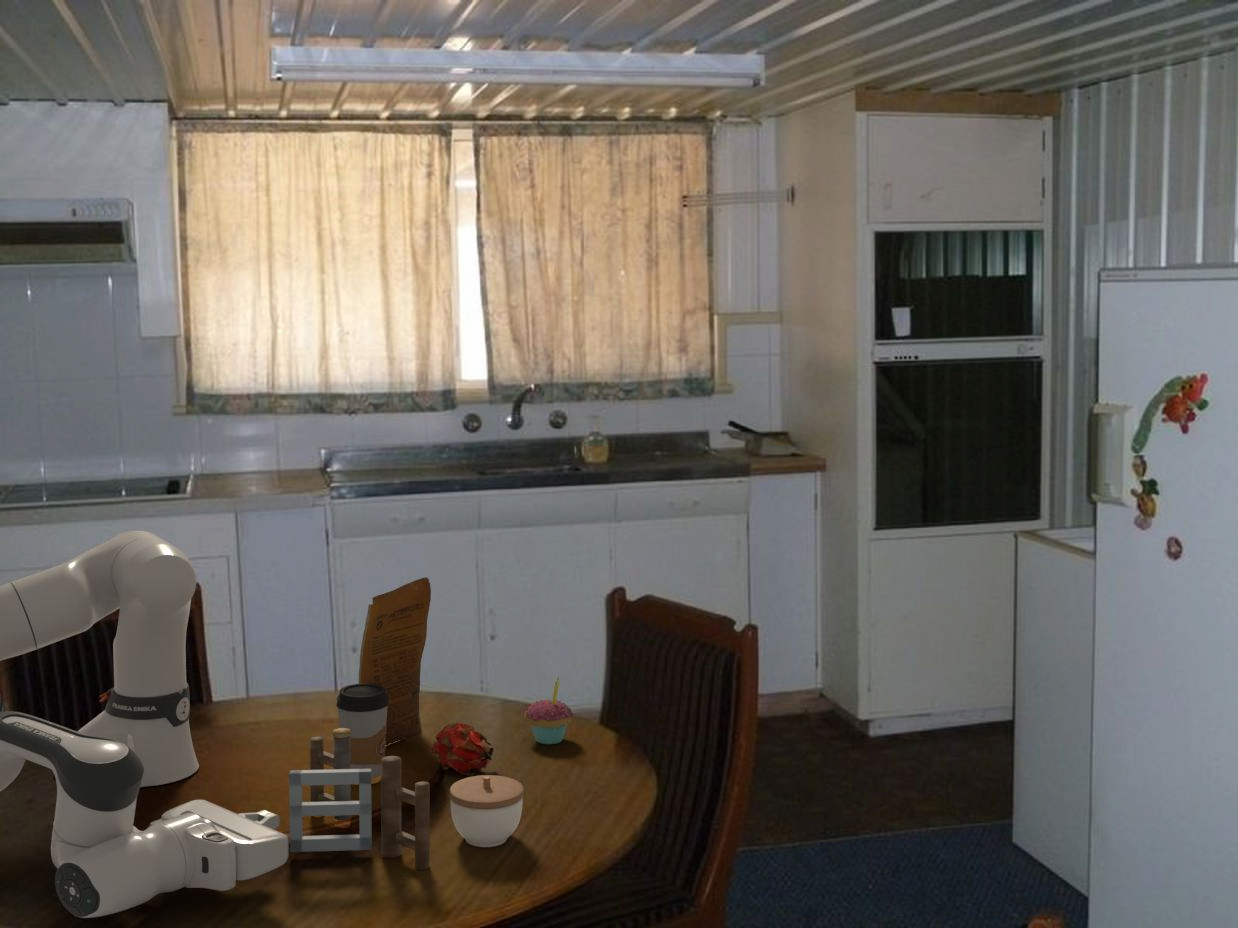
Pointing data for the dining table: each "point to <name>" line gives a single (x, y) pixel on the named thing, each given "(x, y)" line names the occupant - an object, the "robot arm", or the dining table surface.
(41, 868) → the dining table surface
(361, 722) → the coffee cup
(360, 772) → the gate
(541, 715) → the cupcake
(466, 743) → the dragon fruit
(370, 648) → the pancake mix bag
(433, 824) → the dining table surface
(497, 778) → the lidded jar
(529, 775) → the dining table surface
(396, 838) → the fence
